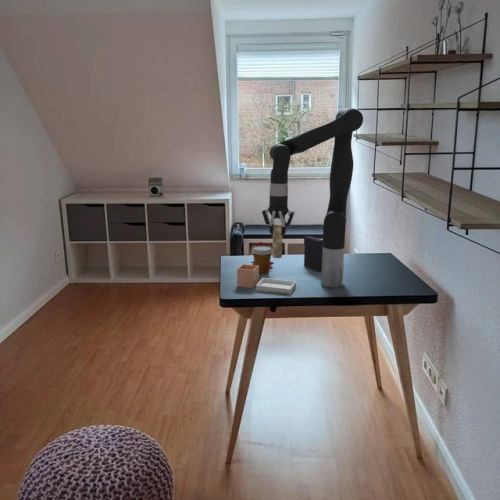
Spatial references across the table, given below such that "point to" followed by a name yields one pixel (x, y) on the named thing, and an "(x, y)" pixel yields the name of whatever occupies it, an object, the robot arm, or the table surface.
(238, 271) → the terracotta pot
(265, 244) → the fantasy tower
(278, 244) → the maple peg
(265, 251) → the disposable coffee cup
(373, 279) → the table surface
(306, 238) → the calculator
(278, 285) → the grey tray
